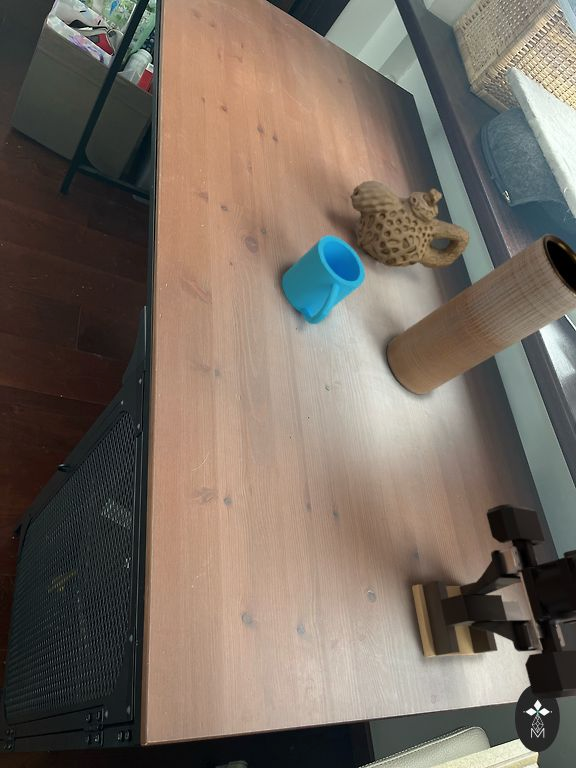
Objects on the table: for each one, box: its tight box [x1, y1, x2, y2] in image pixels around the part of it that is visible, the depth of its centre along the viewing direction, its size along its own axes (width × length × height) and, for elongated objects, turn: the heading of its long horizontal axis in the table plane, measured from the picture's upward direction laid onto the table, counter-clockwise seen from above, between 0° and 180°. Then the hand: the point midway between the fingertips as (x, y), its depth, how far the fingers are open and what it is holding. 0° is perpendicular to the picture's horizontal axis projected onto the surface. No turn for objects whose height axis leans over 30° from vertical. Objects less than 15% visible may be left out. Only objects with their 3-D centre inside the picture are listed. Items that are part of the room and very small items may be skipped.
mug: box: [281, 235, 366, 325], centre depth 85 cm, size 12×8×8 cm
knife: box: [440, 594, 524, 626], centre depth 71 cm, size 14×3×3 cm, turn 97°
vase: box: [386, 233, 576, 396], centre depth 86 cm, size 10×10×28 cm
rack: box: [411, 580, 498, 658], centre depth 75 cm, size 10×8×4 cm
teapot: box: [349, 180, 470, 269], centre depth 100 cm, size 21×12×15 cm, turn 81°
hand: (470, 611), depth 70 cm, fingers closed on knife, 3 cm apart
